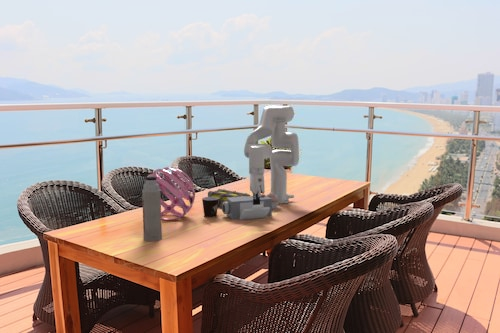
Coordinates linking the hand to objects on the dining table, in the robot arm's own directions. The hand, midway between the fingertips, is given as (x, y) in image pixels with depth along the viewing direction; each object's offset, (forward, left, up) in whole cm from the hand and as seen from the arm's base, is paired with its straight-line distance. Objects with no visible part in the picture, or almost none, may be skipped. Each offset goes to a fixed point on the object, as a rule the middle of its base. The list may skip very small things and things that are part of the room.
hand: (256, 206), depth 235 cm
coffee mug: (+18, -18, -8) cm, 27 cm away
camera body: (+2, -12, -8) cm, 15 cm away
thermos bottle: (+53, +11, -8) cm, 55 cm away
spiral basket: (+39, -23, -8) cm, 46 cm away
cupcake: (-17, -24, -8) cm, 31 cm away
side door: (0, -6, -8) cm, 10 cm away
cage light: (+3, -40, -9) cm, 41 cm away
